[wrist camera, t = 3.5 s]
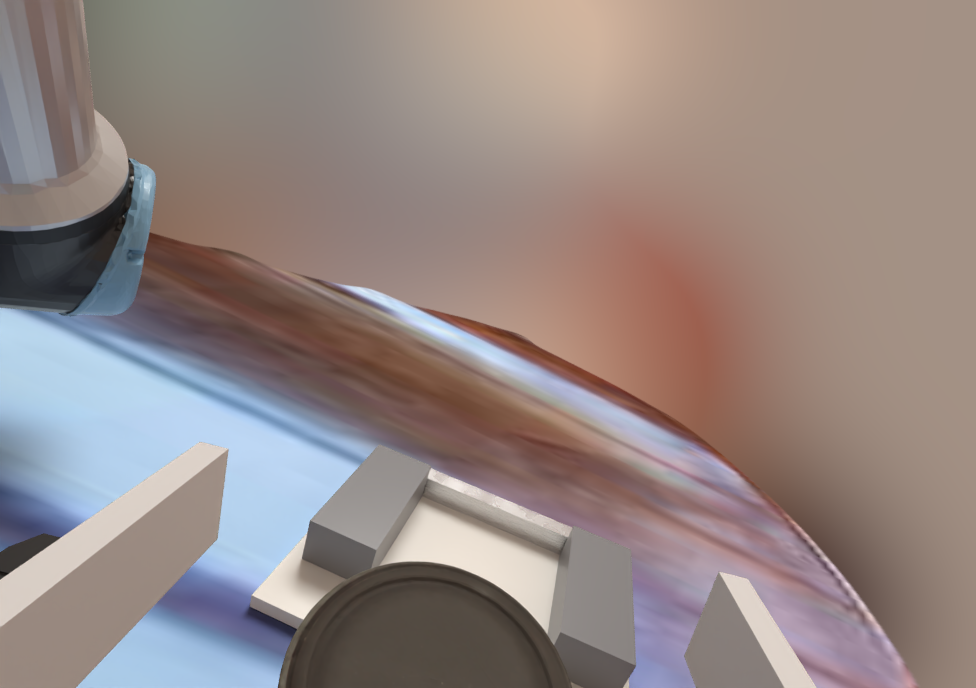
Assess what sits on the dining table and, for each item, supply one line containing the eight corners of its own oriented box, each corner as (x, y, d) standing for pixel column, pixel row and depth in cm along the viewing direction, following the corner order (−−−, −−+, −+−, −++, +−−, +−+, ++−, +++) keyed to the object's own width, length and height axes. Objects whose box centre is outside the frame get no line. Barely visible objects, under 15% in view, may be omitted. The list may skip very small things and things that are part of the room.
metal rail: (620, 580, 44) (629, 563, 43) (367, 472, 47) (371, 454, 46) (620, 568, 45) (629, 551, 44) (374, 464, 48) (379, 446, 47)
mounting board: (624, 785, 30) (631, 774, 29) (249, 606, 33) (251, 595, 32) (621, 577, 46) (625, 568, 45) (368, 469, 49) (370, 461, 48)
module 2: (614, 701, 33) (635, 665, 32) (542, 669, 34) (560, 632, 33) (614, 580, 44) (631, 549, 42) (559, 556, 44) (573, 525, 43)
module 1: (365, 588, 35) (376, 550, 34) (301, 558, 36) (310, 520, 35) (421, 497, 46) (431, 466, 44) (370, 476, 46) (379, 444, 45)
